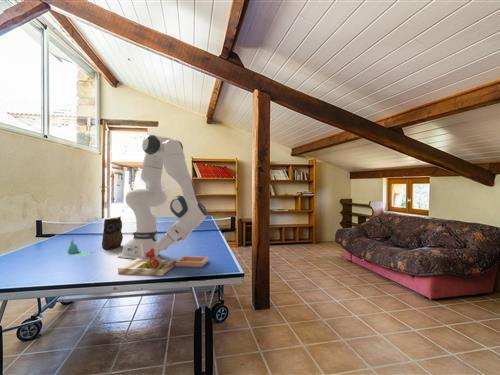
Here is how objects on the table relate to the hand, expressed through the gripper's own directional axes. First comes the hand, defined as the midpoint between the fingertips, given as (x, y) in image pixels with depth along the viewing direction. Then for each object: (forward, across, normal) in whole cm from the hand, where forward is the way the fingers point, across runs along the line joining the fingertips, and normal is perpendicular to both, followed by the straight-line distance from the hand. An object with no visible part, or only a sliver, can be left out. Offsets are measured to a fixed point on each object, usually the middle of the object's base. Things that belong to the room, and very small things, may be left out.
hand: (159, 250), depth 128 cm
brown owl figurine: (+45, -43, -31) cm, 69 cm away
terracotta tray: (-1, -14, +15) cm, 20 cm away
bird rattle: (+10, 0, +4) cm, 11 cm away
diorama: (+51, -25, -36) cm, 68 cm away
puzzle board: (+12, -3, +2) cm, 12 cm away
